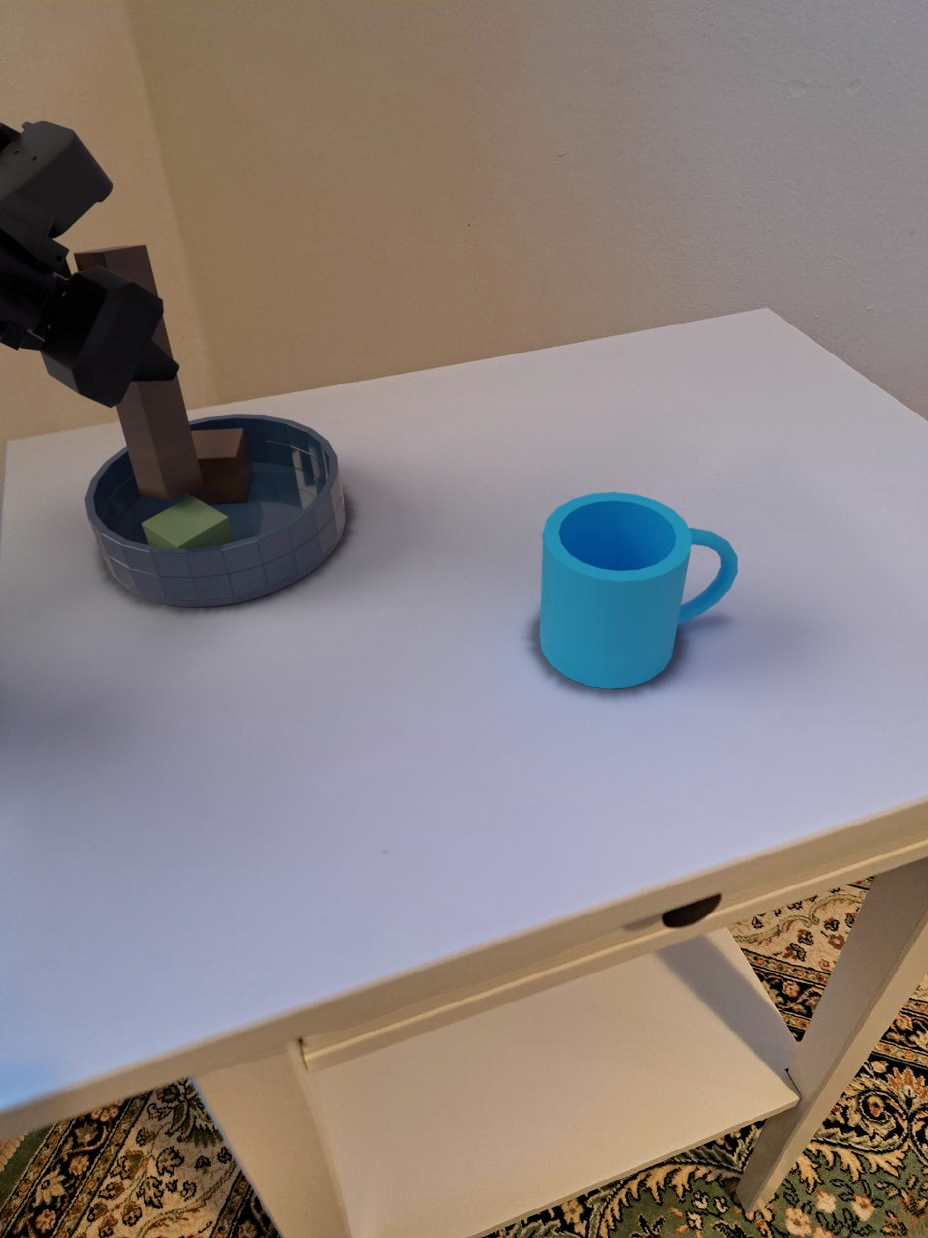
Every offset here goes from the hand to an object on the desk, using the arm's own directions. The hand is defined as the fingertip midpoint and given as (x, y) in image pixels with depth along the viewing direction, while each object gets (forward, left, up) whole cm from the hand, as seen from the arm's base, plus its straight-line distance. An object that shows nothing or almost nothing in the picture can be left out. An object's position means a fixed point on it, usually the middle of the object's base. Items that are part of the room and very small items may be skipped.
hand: (159, 363), depth 56 cm
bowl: (+1, -1, -13) cm, 13 cm away
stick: (-1, -3, -7) cm, 8 cm away
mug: (+22, -23, -13) cm, 35 cm away
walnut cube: (+2, +3, -12) cm, 13 cm away
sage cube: (-1, -6, -12) cm, 13 cm away
